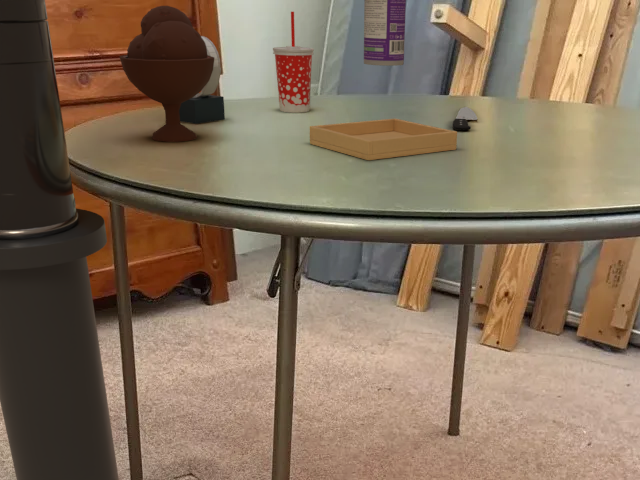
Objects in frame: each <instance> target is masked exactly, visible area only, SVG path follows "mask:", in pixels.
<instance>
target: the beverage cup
mask: <svg viewBox="0 0 640 480" xmlns="http://www.w3.org/2000/svg"><path fill="white" fill-rule="evenodd" d="M290 32H291V33H290V34H291V35H290V36H291V45H286V46H276V47H272V51H273V52H272V54H274V58H275V59H274V61H275V69H276V71H275V72H276V83H277V93H278V104H279V111H280V112H283V113H308V112H310V109H311V89H312V87H311V85H312V65H313V64H312V62H313V55H314V50H315V49H314V48H313V47H308V46H307V47H305V46H299V45H296V42H295V41H296V39H295V38H296V37H295V35H296V34H295V11H290Z"/></svg>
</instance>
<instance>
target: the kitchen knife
mask: <svg viewBox="0 0 640 480" xmlns="http://www.w3.org/2000/svg"><path fill="white" fill-rule="evenodd" d="M468 120H472V121H478V116H477V114H476V112H475V111H474V110H473V109H472V108H470V107H468V106H464V107H460V108H459V110H458V112H457V114H456V116H455V119H454V120H453V121H452V129H454V130H455V131H470V130H471V128H472V127H471V126H470V125H469V123H468Z"/></svg>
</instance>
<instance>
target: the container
mask: <svg viewBox="0 0 640 480" xmlns="http://www.w3.org/2000/svg"><path fill="white" fill-rule="evenodd" d="M363 1H364V3H363V4H364V9H363V13H364V14H363V64H364V65H368V66H383V67H385V66H387V67H392V66H395V67H396V66H397V67H398V66H403V65H404V62H405V40H406V39H405V38H406V13H407V12H406V9H407V0H363Z"/></svg>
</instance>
